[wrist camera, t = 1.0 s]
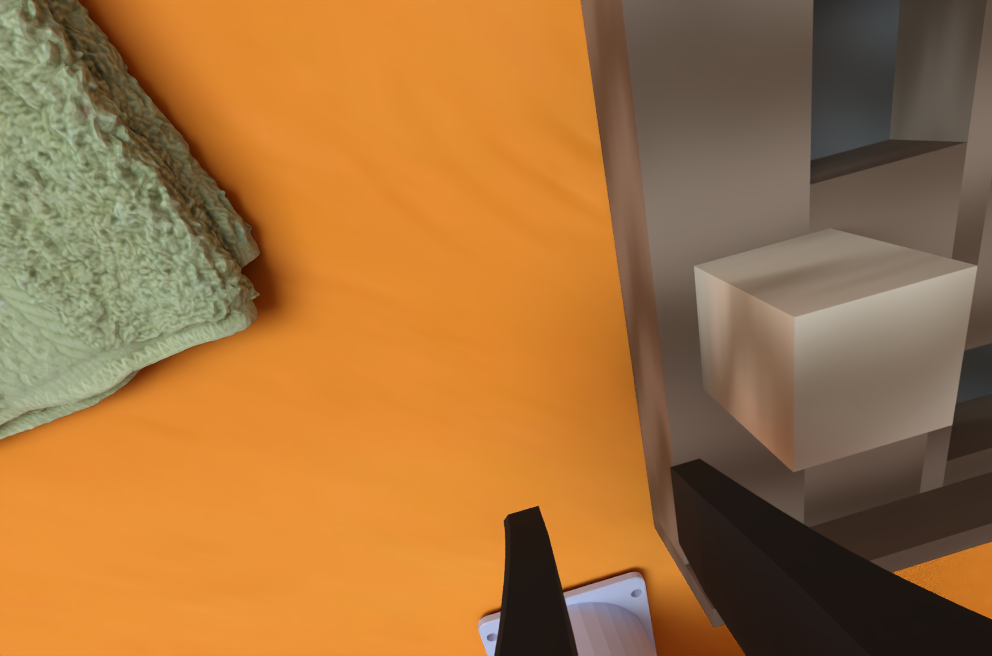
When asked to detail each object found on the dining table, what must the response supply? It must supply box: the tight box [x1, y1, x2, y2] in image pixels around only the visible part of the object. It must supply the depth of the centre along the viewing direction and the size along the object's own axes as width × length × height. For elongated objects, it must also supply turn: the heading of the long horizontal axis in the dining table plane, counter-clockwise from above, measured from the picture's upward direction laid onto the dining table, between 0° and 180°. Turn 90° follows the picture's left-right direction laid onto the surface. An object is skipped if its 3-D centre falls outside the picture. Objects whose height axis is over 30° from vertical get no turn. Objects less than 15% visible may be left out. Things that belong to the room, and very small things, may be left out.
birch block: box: [694, 228, 977, 472], centre depth 14 cm, size 4×4×4 cm
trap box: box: [581, 0, 992, 628], centre depth 17 cm, size 22×23×6 cm
